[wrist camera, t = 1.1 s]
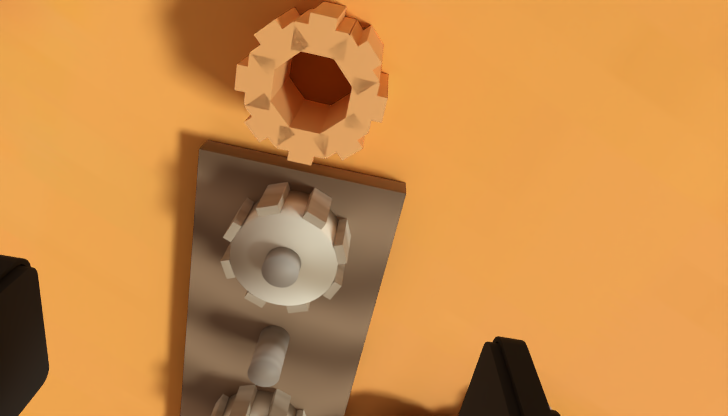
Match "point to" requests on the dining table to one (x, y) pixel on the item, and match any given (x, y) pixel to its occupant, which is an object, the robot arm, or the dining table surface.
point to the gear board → (243, 318)
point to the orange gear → (287, 105)
